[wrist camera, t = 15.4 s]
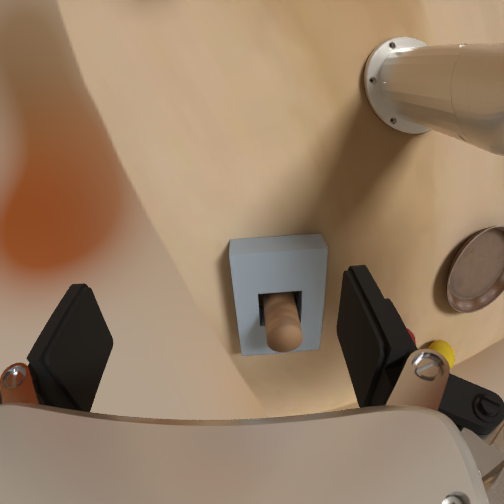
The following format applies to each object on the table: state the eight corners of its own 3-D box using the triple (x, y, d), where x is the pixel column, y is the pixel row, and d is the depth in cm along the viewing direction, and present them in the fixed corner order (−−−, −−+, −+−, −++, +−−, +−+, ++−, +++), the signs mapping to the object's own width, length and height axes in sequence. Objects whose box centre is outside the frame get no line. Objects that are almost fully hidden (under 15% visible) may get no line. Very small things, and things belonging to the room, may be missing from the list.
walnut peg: (292, 277, 45) (303, 325, 36) (292, 301, 47) (302, 350, 39) (261, 280, 45) (266, 329, 36) (262, 304, 47) (267, 353, 39)
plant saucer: (427, 259, 45) (436, 269, 42) (502, 199, 39) (513, 206, 37) (451, 318, 52) (458, 328, 49) (514, 267, 47) (523, 275, 44)
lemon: (439, 348, 56) (455, 376, 49) (418, 354, 56) (432, 383, 49) (447, 329, 53) (464, 357, 46) (424, 335, 53) (441, 365, 46)
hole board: (321, 233, 42) (328, 248, 38) (314, 331, 51) (319, 349, 47) (230, 239, 42) (229, 255, 38) (241, 337, 51) (241, 355, 47)
